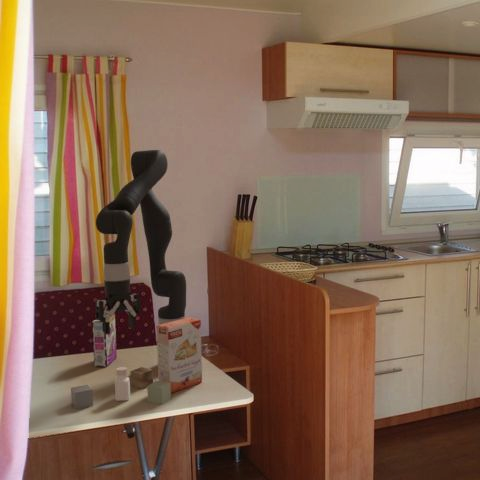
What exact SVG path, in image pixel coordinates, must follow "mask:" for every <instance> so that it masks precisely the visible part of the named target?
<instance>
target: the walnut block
mask: <svg viewBox="0 0 480 480" xmlns="http://www.w3.org/2000/svg"><path fill="white" fill-rule="evenodd" d="M129 373H130V387H131V388H132V387H133V388H137V389H141V390H144V389H147V386H149V385H150V384H152V383H153V382H154V370H153V369H151V368H147V367H142V366H141V367H138V368H135V369H132V370H131V371H129Z"/></svg>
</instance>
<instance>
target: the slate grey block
mask: <svg viewBox="0 0 480 480" xmlns="http://www.w3.org/2000/svg"><path fill="white" fill-rule="evenodd" d="M70 397H71V405H72V406H73V408H75V410H78V409H83V408H88V407H92V406H94V401H93V389H92V388H91V387H90V386H89V385H88V384H84V385H80V386H79V385H78V386H73V387H70Z"/></svg>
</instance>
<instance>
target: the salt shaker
mask: <svg viewBox="0 0 480 480" xmlns="http://www.w3.org/2000/svg"><path fill="white" fill-rule="evenodd" d="M115 371H116V373H115V374H116V378H115V380H114V395H115V396H114V397H115V401H117V402H119V401H120V402H121V401H123V402H124V401H129V399H130V397H131V377H129V376H128V368H127V367H125V366H120V367H117V368H116V369H115Z"/></svg>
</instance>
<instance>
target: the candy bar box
mask: <svg viewBox="0 0 480 480" xmlns="http://www.w3.org/2000/svg"><path fill="white" fill-rule="evenodd" d="M108 322H110V334H108V335H107V334H105V333H104V332H103V327H102V321H99V320H96V319H94V320H92V322H91V323H92V342H93V343H92V344H93V366H94V367H95V368H107V367H108V366H110V365H111V364H112V362H114V361H115V360H116V359H117V357H118V356H117V334H116V333H117V332H116V330H117V329H116V315H115V314H113V316H111V318H110V320H109V321H108Z"/></svg>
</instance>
